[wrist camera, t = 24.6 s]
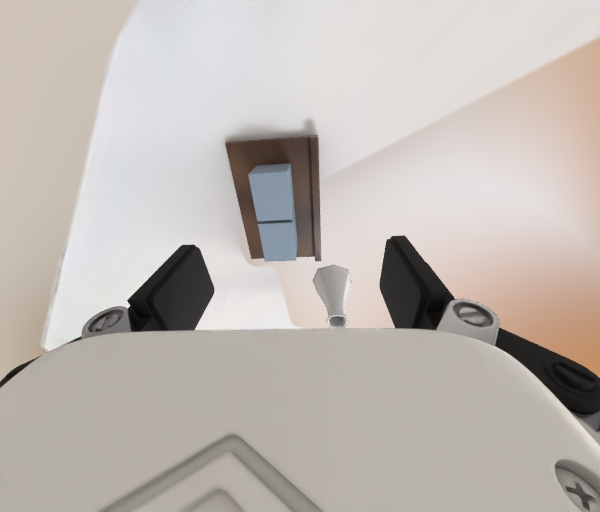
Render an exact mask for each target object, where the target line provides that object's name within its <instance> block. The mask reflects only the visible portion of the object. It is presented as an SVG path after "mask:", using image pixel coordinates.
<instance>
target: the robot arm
mask: <svg viewBox="0 0 600 512" xmlns="http://www.w3.org/2000/svg"><path fill="white" fill-rule="evenodd" d="M380 290H381V293H382V295H383V298H384V300H385V303H386V305H387V308H388V310H389V313H390V316H391V318H392V321H393V323H394V325H395V328H333V329H243V330H195V328H196V326H197V324H198V322H199V320H200V318H201V317H202V315H203V313H204V311H205V309H206V307H207V305H208V304H209V302H210V300H211V298H212V296H213V294H214V286H213V283H212V281H211V278H210V275H209V273H208V270H207V267H206V265H205V262H204V259H203V256H202V254H201V251H200V249H199V248H198V247H196V246H195V245H182V246H180V247H179V248H178V249H177V250H176V251H175V252H174V253H173V254H172V255H171V257H170V258H169V259H168V260H167V261H166V262H165V263H164V264H163V265H162V266H161V267H160V268H159V269H158V270H157V271H156V272H155V273H154V274H153V275H152V276H151V277H150V278H149V279H148V280H147V281H146V282H145V283H144V284H143V285H142V286H141V287H140V288H139V289H138V290H137V291H136V292H135V293H134V294H133V295H132V296H131V297H130V298H129V299H128V300H127V301H128V303H129V304H130V307H129V308H128V309H127V308H126V307H123V306H117V307H112V308H109V309H106V310H104V311H102V312H100V313H98V314H97V315H95V316H93V317H92V318H91V319H90V320H89V321H87V323H86V324H85V325H84V327H83V330H82V336H81V337H79V338H77V339H75V340H73V341H71V342H69V343H67V344H65V345H62V346H60V347H58V348H56V349H54V350H51V351H49V352H47V353H45V354H44V355H42V356H39V357H37V358H36V359H33V360H31V361H29V362H27V363H25V364H22V365H20V366H18V367H16V368H15V369H14V370H12V371H11V372H9V373H8V374H7V375H6V377H5V378H4V379H2V381H1V382H0V512H600V378H599V377H597V375H595V374H594V373H593V372H591V371H590V370H588V369H587V368H586V367H584V366H582V365H580V364H578V363H576V362H574V361H572V360H570V359H568V358H566V357H564V356H561V355H559V354H557V353H555V352H552V351H550V350H548V349H546V348H544V347H541V346H539V345H537V344H535V343H532V342H530V341H528V340H526V339H523V338H521V337H519V336H517V335H515V334H512V333H510V332H508V331H506V330H503V329H501V328H499V325H500V323H499V319H498V317H497V315H496V314H495V313H494V312H493V311H492V310H490V309H489V308H488V307H486V306H485V305H483V304H481V303H478V302H475V301H472V300H468V299H455V298H454V297H453V296H452V294H451V293H450V292H449V290H448V289H447V288H446V287H445V285H444V284H443V283H442V281H441V280H440V279H439V278H438V276H437V275H436V274H435V273H434V271H433V270H432V269H431V267H430V266H429V265H428V264H427V263H426V262H425V261H424V260H423V259H422V257H421V256H420V255H419V253H418V252H417V251H416V250H415V248H414V247H413V245H412V244H411V243H410V242H409V240H408V239H407V238H406V237H405V236H392V237H391V238H390V239H388V240H387V241H386V247H385V253H384V259H383V265H382V272H381V278H380Z"/></svg>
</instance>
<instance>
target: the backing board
mask: <svg viewBox="0 0 600 512" xmlns="http://www.w3.org/2000/svg"><path fill="white" fill-rule="evenodd" d="M225 145H226V149H227V153H228V158H229V162H230V167H231V171H232V175H233V180H234V184H235V188H236V193H237V197H238V202H239V206H240V210H241V215H242V219H243V223H244V228H245V232H246V236H247V241H248V245H249V250H250V254H251V258H252V259H256V258H257V259H258V258H264V254H263V248H262V243H261V238H260V233H259V227H258V223H259V221H257V218H256V212H255V207H254V202H253V197H252V191H251V186H250V181H249V176H248V174H249V173H250V172H251V171H252V170H253V169H254V168H255V167H256V166H258V165H273V164H287V163H291V174H292V185H293V196H294V209H295V218H296V229H297V241H298V246H297V255H296V257H309V256H311V257H312V256H315V261H321V237H320V236H321V235H320V233H321V232H320V190H319V146H318V135H316V136H303V137H290V138H277V139H264V140H251V141H238V142H227V143H225Z"/></svg>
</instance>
